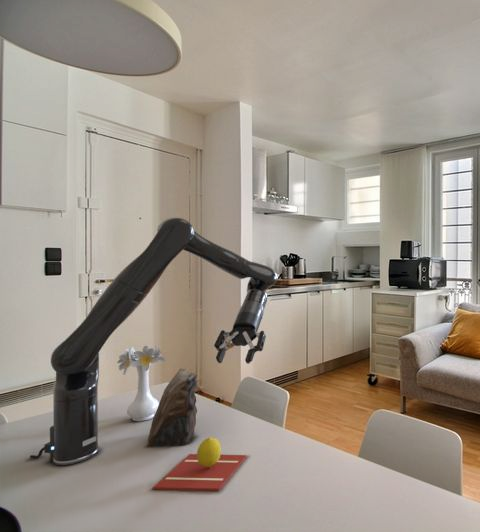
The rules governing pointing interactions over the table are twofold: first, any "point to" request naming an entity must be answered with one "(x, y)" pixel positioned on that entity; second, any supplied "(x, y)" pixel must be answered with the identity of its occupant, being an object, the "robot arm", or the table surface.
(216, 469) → the pot holder
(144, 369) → the flower vase
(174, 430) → the brown rock
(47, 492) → the table surface
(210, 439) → the lemon
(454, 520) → the table surface
